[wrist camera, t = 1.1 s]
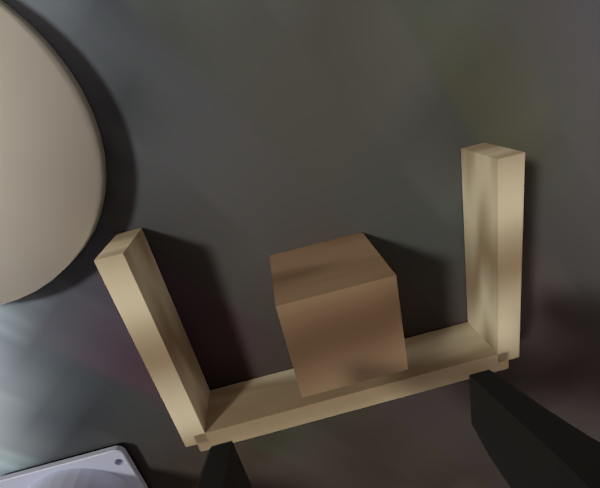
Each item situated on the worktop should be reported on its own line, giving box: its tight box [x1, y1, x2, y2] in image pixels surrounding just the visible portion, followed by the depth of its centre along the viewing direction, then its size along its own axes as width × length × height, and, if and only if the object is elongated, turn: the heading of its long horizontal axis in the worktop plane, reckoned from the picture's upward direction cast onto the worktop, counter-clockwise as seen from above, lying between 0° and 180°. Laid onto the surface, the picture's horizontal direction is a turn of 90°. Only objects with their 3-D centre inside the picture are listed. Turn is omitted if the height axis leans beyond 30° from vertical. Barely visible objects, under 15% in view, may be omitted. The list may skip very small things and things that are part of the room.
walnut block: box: [269, 232, 408, 398], centre depth 18 cm, size 5×5×5 cm
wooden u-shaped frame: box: [94, 143, 525, 452], centre depth 19 cm, size 12×18×3 cm, turn 102°
